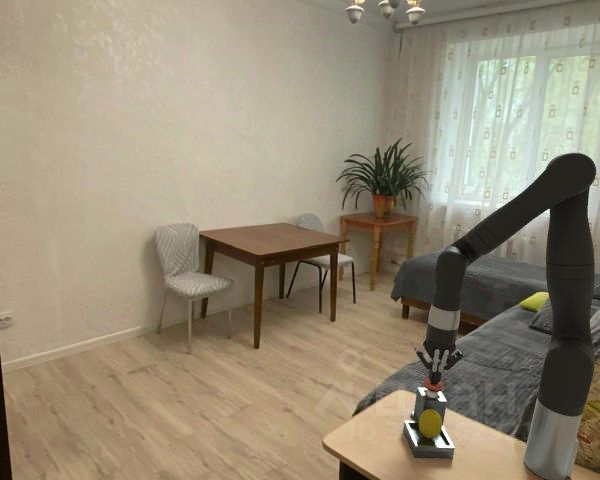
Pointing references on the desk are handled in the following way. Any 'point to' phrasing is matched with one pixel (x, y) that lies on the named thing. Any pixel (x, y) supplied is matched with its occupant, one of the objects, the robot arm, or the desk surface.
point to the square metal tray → (427, 443)
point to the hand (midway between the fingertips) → (433, 382)
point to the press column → (428, 404)
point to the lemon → (430, 423)
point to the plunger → (432, 388)
